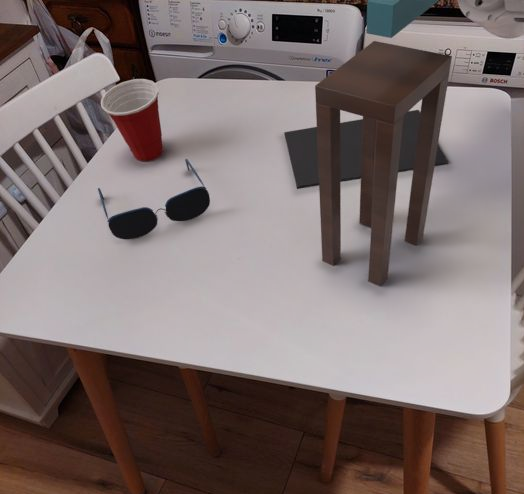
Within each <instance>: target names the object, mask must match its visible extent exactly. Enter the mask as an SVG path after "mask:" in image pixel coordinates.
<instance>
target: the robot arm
mask: <svg viewBox="0 0 524 494" xmlns="http://www.w3.org/2000/svg"><path fill="white" fill-rule="evenodd" d="M457 4H458V6H459V7H458V8H459V9H460V11H461V13H462V14H463V15H464V16H465V17H466V18H468V19H469V20H470V21H472V22H473V23H475V24H476V25H477V26H480V27H481V28H483V29H484V30H485V31H486V32H488V33H489V34H491V35H493V36H495V37H498V38H502V39H508V40H509V39H517V38H520V37H523V36H524V0H457Z"/></svg>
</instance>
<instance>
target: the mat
mask: <svg viewBox="0 0 524 494" xmlns="http://www.w3.org/2000/svg"><path fill="white" fill-rule="evenodd" d="M420 112H421V111H420V110H419V109H416V110H409V111H408V112H407V113H406V114H405V115H404V116H403V126H402V136H401V146H400V157H399V167H398V173H401V172H406V171H413V169H414V161H415V153H416V145H417V137H418V129H419V120H420ZM362 128H363V118H361V119H355V120H349V121H343V122H342V121H341V122H340V182H346V181H351V180H357V179H361V158H362ZM283 135H284V139H285V141H286V146H287V151H288V156H289V160H290V165H291V168H292V172H293V178H294V182H295V185H296V189H303V188H310V187H315V186H319V169H318V145H317V126H313V127H307V128H301V129H294V130H290V131H284V134H283ZM448 164H449V161H448V159H447V157H446V155H445V153H444V152H443V151H442V148H441V146H440V145H439V144H438V147H437V153H436V160H435V166H434V167H437V166H442V165H444V166H445V165H448Z"/></svg>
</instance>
